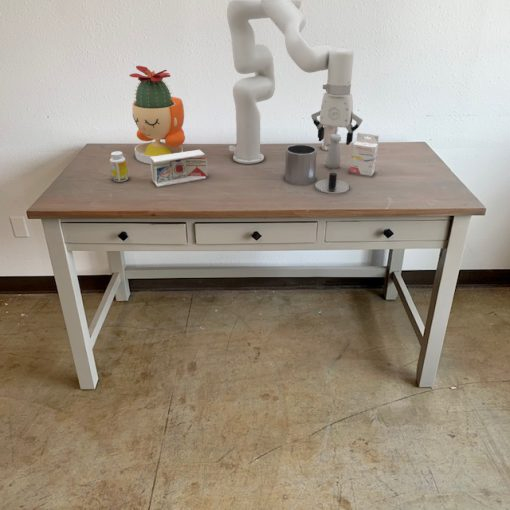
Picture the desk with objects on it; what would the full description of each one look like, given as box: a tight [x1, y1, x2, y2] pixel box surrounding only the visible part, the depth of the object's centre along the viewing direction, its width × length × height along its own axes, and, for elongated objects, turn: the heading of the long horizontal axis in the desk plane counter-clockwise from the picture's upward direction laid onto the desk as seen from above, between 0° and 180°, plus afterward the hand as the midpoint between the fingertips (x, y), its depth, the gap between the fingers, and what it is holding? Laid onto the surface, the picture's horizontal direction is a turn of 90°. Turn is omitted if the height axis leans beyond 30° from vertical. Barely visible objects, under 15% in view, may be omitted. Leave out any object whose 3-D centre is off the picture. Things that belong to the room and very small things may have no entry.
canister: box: [284, 143, 318, 185], centre depth 176 cm, size 11×11×12 cm
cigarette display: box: [150, 149, 208, 188], centre depth 176 cm, size 20×6×9 cm, turn 115°
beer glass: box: [321, 125, 339, 152], centre depth 205 cm, size 7×7×15 cm
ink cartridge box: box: [349, 132, 380, 177], centre depth 180 cm, size 9×5×15 cm, turn 65°
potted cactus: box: [129, 65, 186, 165], centre depth 192 cm, size 22×22×35 cm
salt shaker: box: [325, 133, 342, 169], centre depth 186 cm, size 6×6×13 cm
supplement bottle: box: [109, 150, 129, 183], centre depth 175 cm, size 6×6×10 cm
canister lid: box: [314, 172, 350, 195], centre depth 170 cm, size 12×12×6 cm
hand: (334, 141), depth 163 cm, fingers open, 9 cm apart
